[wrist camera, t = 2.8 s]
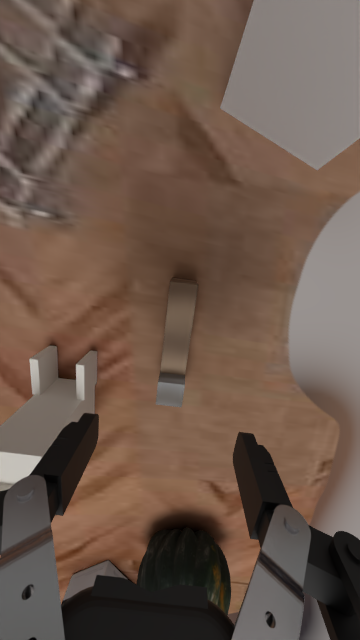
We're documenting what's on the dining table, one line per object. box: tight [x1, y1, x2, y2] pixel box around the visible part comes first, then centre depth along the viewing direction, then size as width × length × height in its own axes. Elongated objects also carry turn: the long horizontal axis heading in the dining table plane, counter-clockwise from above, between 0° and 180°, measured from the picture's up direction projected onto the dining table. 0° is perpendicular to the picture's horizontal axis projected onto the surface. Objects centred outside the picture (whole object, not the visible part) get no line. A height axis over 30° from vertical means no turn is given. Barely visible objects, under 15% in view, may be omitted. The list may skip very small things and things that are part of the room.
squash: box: [137, 528, 231, 615], centre depth 35 cm, size 14×15×15 cm
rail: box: [156, 278, 198, 407], centre depth 26 cm, size 14×3×6 cm, turn 173°
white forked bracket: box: [0, 346, 97, 491], centre depth 25 cm, size 11×8×13 cm
